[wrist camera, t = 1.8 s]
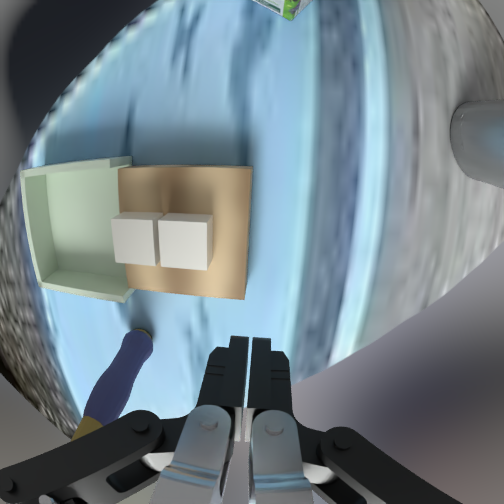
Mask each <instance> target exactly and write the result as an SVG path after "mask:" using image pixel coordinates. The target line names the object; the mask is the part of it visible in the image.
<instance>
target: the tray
mask: <svg viewBox="0 0 504 504" xmlns="http://www.w3.org/2000/svg"><path fill="white" fill-rule="evenodd" d="M128 166H132V156H123V157H110V158H99V159H89V160H80V161H71V162H64V163H57V164H50V165H44V166H39V167H34V168H30V169H26V170H22V171H20V177H21V190H22V201H23V209H24V217H25V224H26V230H27V236H28V241H29V246H30V251H31V256H32V261H33V265H34V269H35V273H36V277H37V281H38V284H39V287H42V288H46V289H51V290H55V291H60V292H65V293H70V294H75V295H80V296H86V297H91V298H97V299H102V300H108V301H114V302H120V303H125V302H126V300H127V299H128V298H129V297H130V295H131V294H132V293H133V292H134V291H135V289H133V288H128V282H127V276H126V269H125V263H117V262H116V261H115V253H114V245H113V237H112V227H111V218H113V217H115V216H117V215H119V214H120V212H119V195H118V169H119V168H124V167H128Z"/></svg>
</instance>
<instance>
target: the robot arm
mask: <svg viewBox="0 0 504 504" xmlns="http://www.w3.org/2000/svg"><path fill="white" fill-rule="evenodd" d="M450 131H451V144H452V149H453V152H454V156H455V158H456V160H457V163H458V165H459V166H460V168H461V169H462V171H463V172H464V173H465V174H466V175H467V176H469V177H470V178H472V179H475V180H478V181H481V182H485V183H488V184H491V185H494V186H497V187H500V188H503V189H504V99H503V100H486V101H475V102H466V103H464V104H462V105H460V106H459V107H458V108H457V110H456V112H455V113H454V115H453V119H452V122H451V130H450ZM248 347H249V337H243V336H231V338H230V343H229V348H225V347H216V348H215V349H214V350H213V351H212V353H211V354H210V355H209V359H208V362H207V366H206V370H205V374H204V378H203V382H202V386H201V390H200V394H199V398H198V402H197V405H196V407H195V408H194V409H193V410H192V411H191V412H190V413H189V414H187V415H186V416H183V417H180V418H173V419H159V417H158V416H157V415H156V414H154V413H152V412H150V411H147V410H136V411H132V412H130V413H128V414H126V415H124V416H122V417H120V418H118V419H117V420H115V421H113V422H111V423H109V424H107V425H105V426H103V427H101V428H99V429H97V430H95V431H93V432H90V433H88V434H86V435H84V436H82V437H80V438H78V439H76V440H73V441H71V442H69V443H67V444H64V445H62V446H60V447H58V448H55V449H53V450H51V451H48V452H46V453H43V454H41V455H38V456H36V457H33V458H31V459H28V460H25V461H23V462H20V463H18V464H15V465H12V466H9V467H6V468H3V469H1V470H0V498H1V499H2V500H3V501H5V502H6V503H8V504H116V503H118V502H120V501H122V500H123V499H125V498H127V497H129V496H131V495H133V494H135V493H137V492H138V491H140V490H142V489H143V488H145V487H147V486H149V485H150V484H152V483H154V482H155V481H157V480H158V481H157V484H156V486H155V489H154V492H153V495H152V497H151V500H150V503H149V504H222V500H223V494H224V489H225V485H226V480H227V476H228V471H229V466H230V461H231V457H232V455H233V448H234V441H240V438H241V428H242V417H243V407H244V397H245V386H246V376H247V363H248ZM245 442H250V447H249V459H248V468H249V469H248V476H249V504H314V501H313V494H312V490H313V491H315V492H316V493H317V494H318V495H319V496H320V497H321V498H322V499H324V500H325V501H326V502H327V503H328V504H462V503H460V502H459V501H457V500H455V499H453V498H452V497H450V496H448V495H447V494H445V493H444V492H442V491H440V490H439V489H437V488H435V487H434V486H432V485H431V484H429V483H427V482H426V481H425V480H423V479H421V478H420V477H418V476H417V475H415V474H414V473H412V472H411V471H410V470H408V469H407V468H405V467H404V466H402V465H401V464H399V463H398V462H397V461H395V460H393V459H392V458H391V457H390V456H388V455H387V454H385V453H384V452H382V451H381V450H380V449H378V448H377V447H376V446H374V445H373V444H372V443H370V442H369V441H368V440H367V439H365V438H364V437H363V436H361V435H360V434H359V433H357V432H356V431H355V430H353V429H350V428H348V427H334V428H332V429H329V430H328V431H326V432H322V431H317V430H313V429H310V428H307V427H305V426H303V425H302V424H300V423H299V422H298V421H297V420H296V419H295V417H294V415H293V411H292V396H291V381H290V367H289V360H288V358H287V357H286V355H285V354H284V352H283V351H271V338H258V337H253V341H252V354H251V366H250V378H249V390H248V402H247V415H246V429H245Z"/></svg>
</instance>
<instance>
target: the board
mask: <svg viewBox="0 0 504 504" xmlns="http://www.w3.org/2000/svg"><path fill="white" fill-rule="evenodd" d="M252 173H253V167H252V166H231V165H138V166H128V167H124V168H119V169H118V195H119V212H120V213H122V212H158V213H163V216H165V215H166V214H167V213H185V214H207V215H213V259H212V261H211V263H210V265H209V268H208V270H207V271H206V270H193V269H182V268H170V267H161V261H160V262H159V263H158V264H157V265H156V266H148V265H138V264H127V263H125V269H126V276H127V282H128V288H133V289H141V290H149V291H157V292H166V293H175V294H184V295H194V296H204V297H215V298H227V299H239V300H244V299H245V292H246V286H247V267H248V248H249V229H250V210H251V192H252Z"/></svg>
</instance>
